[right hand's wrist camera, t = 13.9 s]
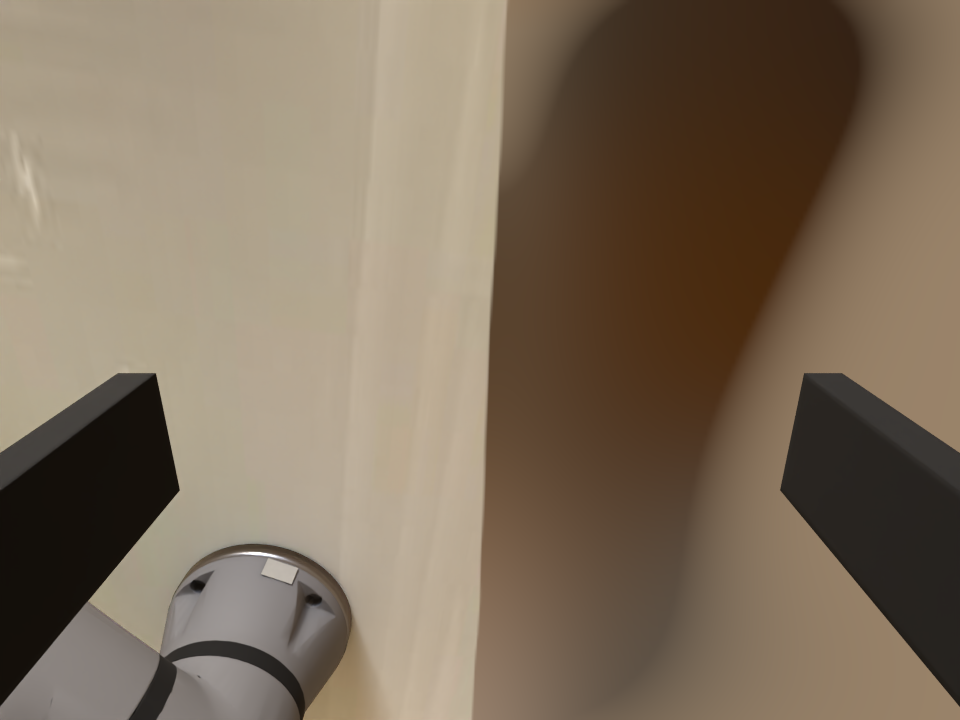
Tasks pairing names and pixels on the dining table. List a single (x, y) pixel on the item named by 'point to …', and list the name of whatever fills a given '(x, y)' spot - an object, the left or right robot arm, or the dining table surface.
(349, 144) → the dining table surface
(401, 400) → the dining table surface
